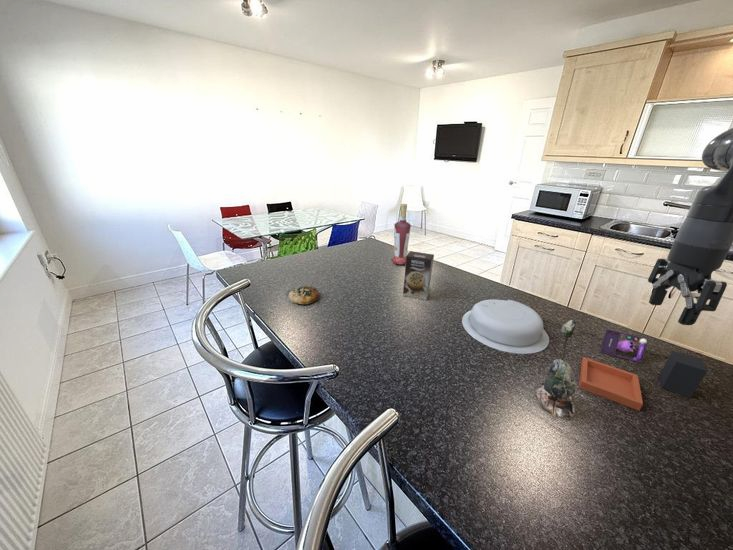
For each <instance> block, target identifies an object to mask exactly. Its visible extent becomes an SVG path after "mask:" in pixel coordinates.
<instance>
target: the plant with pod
mask: <svg viewBox="0 0 733 550" xmlns="http://www.w3.org/2000/svg"><path fill="white" fill-rule="evenodd" d="M576 324H577V323H576V320H574V319H569V320H568V321H567V322H566V323H564V324H562V326H561V334H562V336H563V337H564V344H563V350H562V356H561V358H558V359H557V358H555V359H554V360H553V361H552V363H551V364H550V367H549V369H548V371H547V375H546V379H545V381H544V382H543V383H541V384H540V385H539V387H538V388H536V390H535V392H534V394H535V396H536V399H537V401H538V402H539V406H540V407H541V408H542V409H543V410H544V411H546V412H548V413H550V414H551V415H552V417H556V416H557V417H560V419H561V418H562V419H566V420H567V419H569V420H570V419H573V417H574V413H575V412H576V411H575V410H576V408H575V406H574V405H575V404H574V403H573V402H574V400H573V399H572V396H573V395H574V394H575V392H576V391H577V388H578V385H577V381H576V377H575V374H574V372H573V369H572V366H571V365H570V364H569V362H566V361H565V360H564V357H565V352H566V345H567V343H568V340H569V339H570V338H571V337H572V336H573V335H574V331H575V328H576Z"/></svg>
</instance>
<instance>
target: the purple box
mask: <svg viewBox="0 0 733 550" xmlns="http://www.w3.org/2000/svg"><path fill="white" fill-rule="evenodd" d="M621 335H624V336H625V337H624V338H625V340H623V339H621V340H620V338H621ZM649 340H650V339H649V338H647V337H643V336H640V335H634V334H631V333H626V332H622V331H619V330H618V331H617V330H613V329H609V328H606V329H605V332H604V336H603V339H602V342H601V346H600V350H599V352H600V353H602V354H606V355H609V356H613V357H617V358H621V359H624V360H628V361H632V362H635V363H639V364H641V363H642V362H643V359H644V356H645V353H646V350H647V347H648V343H649ZM634 342H635V343H634ZM638 342H639V347H638V349H637V348H636V347H635V346H638V344H636V343H638ZM634 350H636V351H637V354H636V356H634V357H633V358H630V357H626V356H622V355H619V354H616V351H620V352H623V353H630V352H631V353H632V352H634Z"/></svg>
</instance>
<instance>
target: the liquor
mask: <svg viewBox="0 0 733 550" xmlns="http://www.w3.org/2000/svg"><path fill="white" fill-rule="evenodd" d="M407 209H408V204H407V203H400V216H399V221H397V222H395V223H394V231H393V259H392V263H394V264H395V265H397V266H404V265H406V256H407V255H408V249H409V243H410V242H409V241H410V233H411V227H412V226H411V224H410V223H409V222H408V221H407Z"/></svg>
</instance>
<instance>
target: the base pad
mask: <svg viewBox="0 0 733 550" xmlns="http://www.w3.org/2000/svg"><path fill="white" fill-rule="evenodd" d="M581 359H582V360H581V361H580V373H579V382H578V384H579V385H578V388H579V389H581V390H583V391H587V392H589V393H592V394H594V395H597V396H600V397H602V398H604V399H607V400H610V401H613V402H615V403H618V404H620V405H623V406H626V407H628V408H629V409H633V410H635V411H638V412H640V411H641V410H642V407H643V405H644V401H643V397H642V390H641V386H640V379H639V375H638V374H635V373H633V372H630V371H627V370H624V369H621V368H618V367H616V366H612V365H609V364H606V363H603V362H600V361H597V360H594V359H591V358H588V357H585V356H583V357H582V358H581Z"/></svg>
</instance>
